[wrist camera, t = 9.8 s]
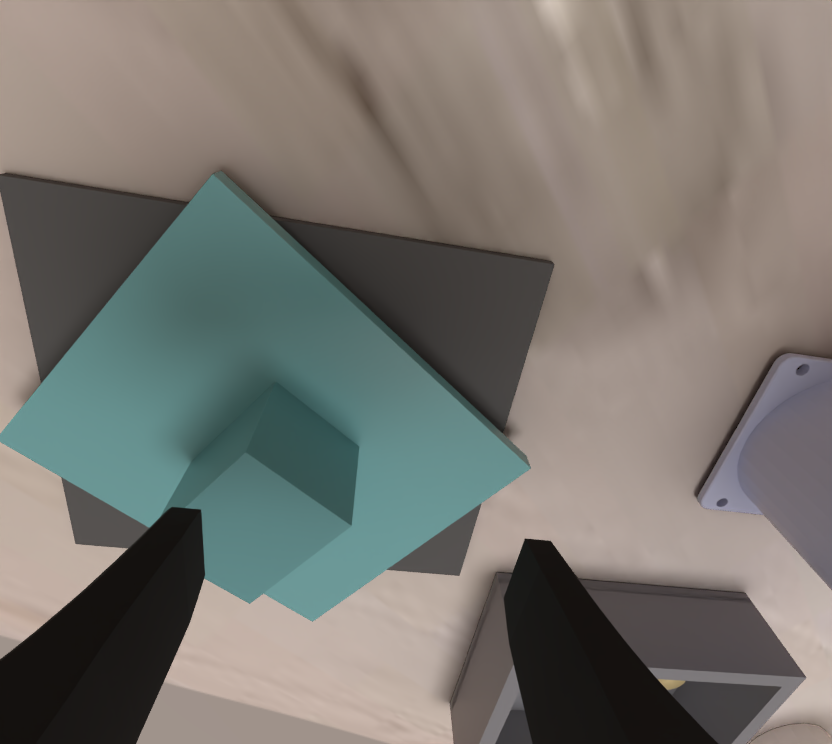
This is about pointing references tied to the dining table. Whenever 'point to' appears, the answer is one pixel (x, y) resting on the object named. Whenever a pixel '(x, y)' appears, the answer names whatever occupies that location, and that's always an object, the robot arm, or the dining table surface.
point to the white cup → (795, 735)
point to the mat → (331, 246)
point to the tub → (656, 647)
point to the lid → (262, 413)
